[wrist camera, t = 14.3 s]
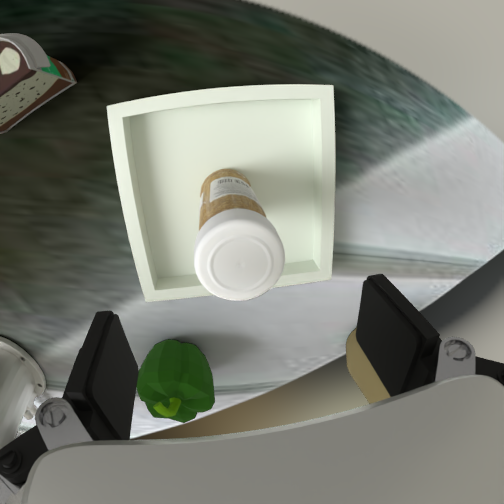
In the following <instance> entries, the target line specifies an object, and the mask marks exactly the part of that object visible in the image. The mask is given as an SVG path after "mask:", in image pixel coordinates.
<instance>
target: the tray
mask: <svg viewBox="0 0 504 504" xmlns="http://www.w3.org/2000/svg"><path fill="white" fill-rule="evenodd" d="M107 114H108V122H109V130H110V138H111V145H112V152H113V159H114V165H115V171H116V177H117V182H118V188H119V193H120V198H121V204H122V209H123V213H124V218H125V223H126V227H127V232H128V236H129V241H130V245H131V249H132V253H133V257H134V261H135V265H136V269H137V273H138V276H139V280H140V284H141V287H142V291H143V295H144V298H145V301H146V302H153V301H163V300H173V299H183V298H192V297H202V296H210V295H214V294H212V293H211V292H209V291H208V290H207V289H206V288H205V287H204V286H203V285H202V283H201V282H200V281H199V279H198V277H197V274H196V271H195V267H194V245H195V240H196V237H197V234H198V232H199V207H200V199H201V198H200V192H201V186H202V184H203V182H204V180H205V179H206V178H207V177H208V176H209V175H210V174H212V173H213V172H215V171H217V170H220V169H233V170H236V171H238V172H240V173H242V174H243V175H244V176H245V177H246V178H247V179H248V181H249V183H250V185H251V188H252V190H253V191H254V193H255V195H256V197H257V199H258V201H259V202H260V204H261V206H262V208H263V210H264V212H265V215H266V218H267V219H268V220H269V221H270V222H271V223H272V224H273V226H274V227H275V229H276V231H277V233H278V235H279V237H280V239H281V241H282V244H283V247H284V250H285V265H284V269H283V272H282V274H281V276H280V278H279V280H278V281H277V282H276V284H275V285H274V286H273V287H272V288H276V287H283V286H291V285H298V284H305V283H312V282H319V281H326V280H331V274H332V258H333V240H334V214H335V114H334V90H333V85H304V84H286V85H253V86H237V87H224V88H213V89H204V90H195V91H187V92H180V93H173V94H166V95H160V96H154V97H149V98H143V99H138V100H133V101H128V102H123V103H119V104H114V105H110V106H107Z"/></svg>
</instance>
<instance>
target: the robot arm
mask: <svg viewBox="0 0 504 504" xmlns="http://www.w3.org/2000/svg"><path fill="white" fill-rule="evenodd" d="M439 336H440V334H439V333H438V332H437V331H436V330H435V329H434V328H433V327H432V326H431V324H430V323H429V322H428V321H427V320H426V319H425V318H424V317H423V316H422V315H421V313H420V312H419V311H418V310H417V309H416V308H415V307H414V306H413V305H412V304H411V303H410V302H409V301H408V300H407V298H406V297H405V296H404V295H403V294H402V293H401V292H400V291H399V290H398V289H397V288H396V287H395V286H394V285H393V284H392V283H391V282H390V281H389V280H388V279H387V278H386V277H385V276H384V275H383V274H377V275H371V276H368V277H367V280H365V281H364V282H363V288H362V296H361V303H360V310H359V316H358V322H357V329H356V340H357V342H358V344H359V345H360V347H361V349H362V350H363V352H364V354H365V355H366V357H367V359H368V360H369V362H370V363H371V365H372V367H373V368H374V370H375V372H376V373H377V375H378V377H379V378H380V380H381V382H382V383H383V385H384V387H385V388H386V390H387V392H388V394H389V395H390V398H387V399H384V400H381V401H378V402H375V403H371V404H368V405H365V406H362V407H358V408H355V409H351V410H348V411H344V412H340V413H336V414H332V415H328V416H324V417H320V418H316V419H312V420H307V421H303V422H298V423H293V424H289V425H283V426H278V427H272V428H267V429H261V430H254V431H247V432H240V433H233V434H225V435H216V436H206V437H195V438H181V439H160V440H129V439H130V430H131V422H132V414H133V407H134V400H135V393H136V386H137V380H138V366H137V363H136V361H135V358H134V356H133V353H132V351H131V348H130V346H129V343H128V341H127V338H126V336H125V333H124V330H123V328H122V325H121V322H120V320H119V317H118V315H117V314H113V312H112V311H101V312H97V313H96V314H95V317H94V319H93V322H92V324H91V326H90V329H89V331H88V334H87V336H86V339H85V341H84V344H83V346H82V348H81V349H80V350H79V353H78V355H77V358H76V361H75V363H74V366H73V369H72V371H71V374H70V377H69V380H68V383H67V385H66V388H65V391H64V394H63V397H62V398H51V399H48V400H46V401H45V402H43V403H42V404H41V405H40V406H39V408H37V407H36V406H35V405H34V400H35V398H36V397H39V396H41V395H42V394H43V392H44V390H45V387H46V380H45V376H44V374H43V372H42V370H41V369H40V367H39V365H38V364H37V363H36V362H35V360H34V359H33V358H32V357H31V356H30V355H29V354H28V353H27V352H26V351H24V350H23V349H22V348H21V347H19V346H18V345H17V344H15V343H13V342H12V341H10V340H8V339H6V338H4V337H0V504H504V364H503V363H499V362H495V361H491V360H487V359H484V358H480V357H476V356H475V350H474V348H473V346H472V345H471V344H470V343H469V342H468V341H466V340H464V339H463V338H459V337H448V338H446V339H444V340H443V341H442V340H441V339H440V338H439ZM23 416H24V417H25V418H26V419H27V420H30V419H32V418H33V416H35V421H36V424H37V425H36V426H34V427H33V428H31V429H30V430H28V431H27V432H25V433H24V434H22V435H21V436H19V437H18V438H16V435H17V432H18V429H19V427H20V424H21V421H22V418H23ZM15 438H16V439H15Z"/></svg>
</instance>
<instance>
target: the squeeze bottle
mask: <svg viewBox="0 0 504 504" xmlns="http://www.w3.org/2000/svg"><path fill="white" fill-rule="evenodd" d="M356 329H357V328H356ZM356 329H355V330H353V331H352V332H351V334H350V335H349V337H348V338H347V342H346V357H347V367H348V370H349V373H350V375H351V376H352V377H353V379H354V381H355V382H356V384H357V385H358V387H359V388H360V390H361V391H362V393H363V394H364V396H365V397H366V399H367V401H368V402H369V404H371V403H375V402H378V401H381V400H384V399H387V398H390V395H389V394H388V392H387V390H386V388H385V387H384V385H383V383H382V382H381V380H380V378H379V377H378V375H377V373H376V372H375V370H374V368H373V367H372V365H371V363H370V362H369V360H368V359H367V357H366V355H365V354H364V352H363V350H362V349H361V347H360V345H359V344H358V342H357V340H356Z"/></svg>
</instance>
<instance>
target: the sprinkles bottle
mask: <svg viewBox="0 0 504 504" xmlns="http://www.w3.org/2000/svg"><path fill="white" fill-rule="evenodd" d="M200 198H201V199H200V207H199V232H198V234H197V237H196V240H195V245H194V267H195V271H196V274H197V277H198V279H199V281H200V282H201V283H202V285H203V286H204V287H205V288H206V289H207V290H208V291H209V292H211V293H212V294H214V295H216V296H218V297H220V298H223V299H226V300H232V301H244V300H250V299H253V298H256V297H258V296H260V295H262V294H264V293H266V292H267V291H268V290H270V289H271V288H272V287H273V286H274V285H275V284H276V282H277V281H278V280H279V278H280V276H281V274H282V272H283V269H284V265H285V250H284V247H283V244H282V241H281V239H280V237H279V235H278V233H277V231H276V229H275V227H274V226H273V224H272V223H271V222H270V221H269V220H268V219H267V218H266V215H265V212H264V210H263V208H262V206H261V204H260V202H259V201H258V199H257V197H256V195H255V193H254V191H253V190H252V188H251V185H250V183H249V181H248V179H247V178H246V177H245V176H244V175H243V174H242V173H240V172H238V171H236V170H233V169H220V170H217V171H215V172H213V173H212V174H210V175H209V176H208V177H207V178H206V179H205V180H204V182H203V184H202V186H201V192H200Z"/></svg>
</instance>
